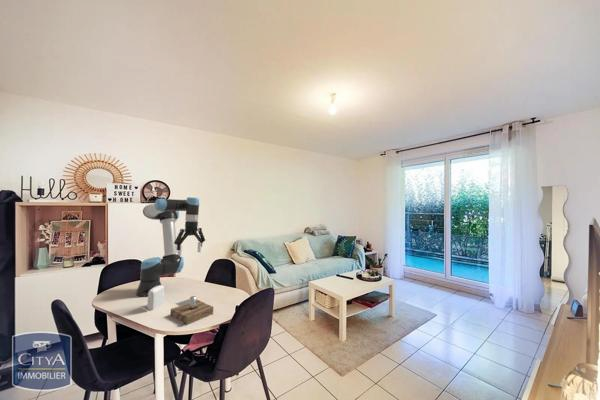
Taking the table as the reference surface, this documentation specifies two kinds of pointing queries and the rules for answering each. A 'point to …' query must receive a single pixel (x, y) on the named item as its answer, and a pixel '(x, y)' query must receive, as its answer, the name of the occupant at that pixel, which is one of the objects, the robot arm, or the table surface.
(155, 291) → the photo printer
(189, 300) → the mat
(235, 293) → the table surface
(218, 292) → the table surface
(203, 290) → the table surface
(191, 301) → the pin
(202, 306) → the socket block
